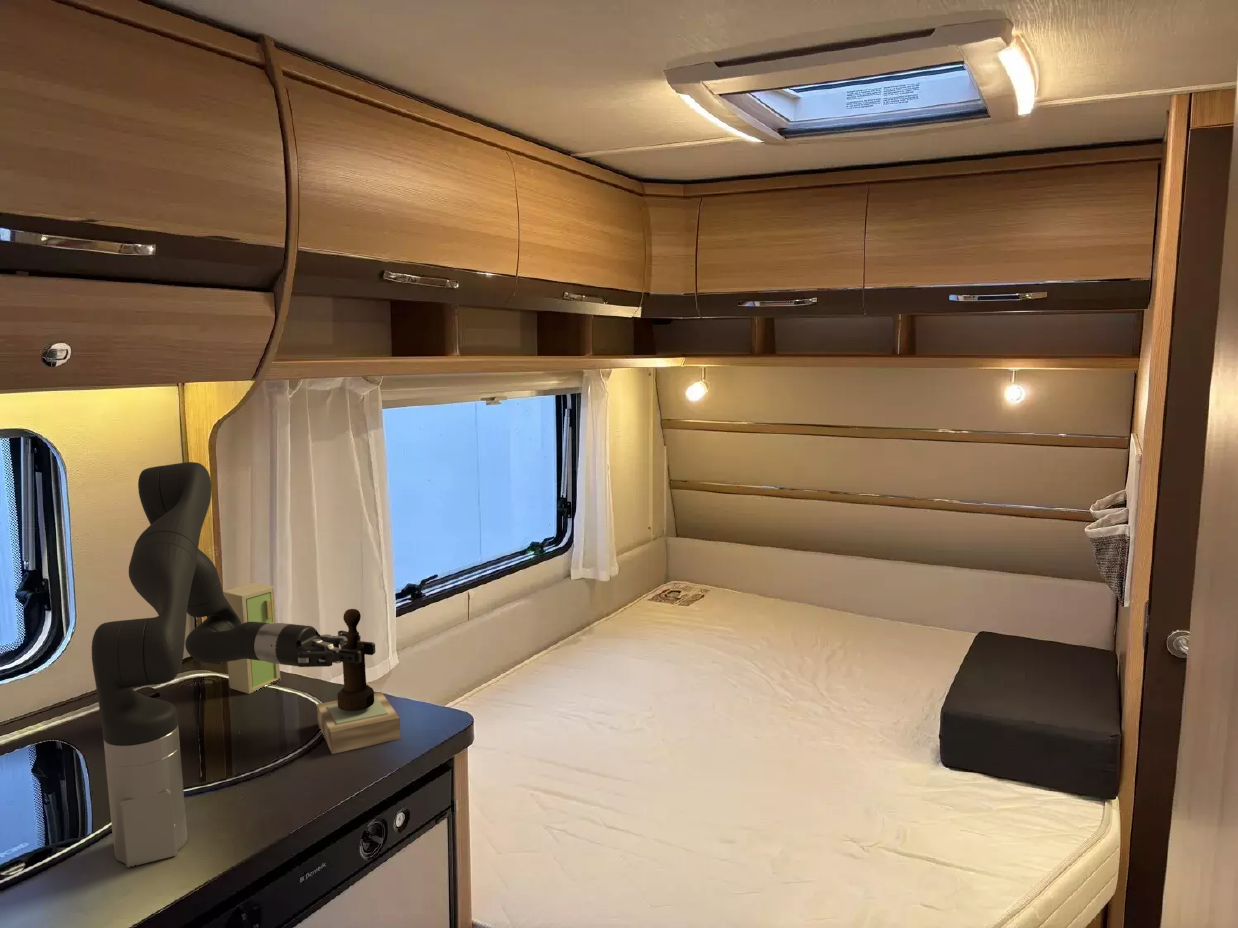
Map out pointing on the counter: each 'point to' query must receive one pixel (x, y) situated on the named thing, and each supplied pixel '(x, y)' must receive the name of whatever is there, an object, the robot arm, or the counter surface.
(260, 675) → the toy refrigerator
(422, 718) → the counter surface
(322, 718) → the birch pedestal
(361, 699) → the dark brown pepper mill
